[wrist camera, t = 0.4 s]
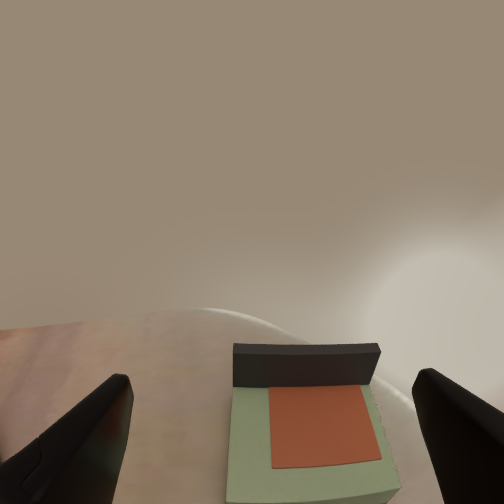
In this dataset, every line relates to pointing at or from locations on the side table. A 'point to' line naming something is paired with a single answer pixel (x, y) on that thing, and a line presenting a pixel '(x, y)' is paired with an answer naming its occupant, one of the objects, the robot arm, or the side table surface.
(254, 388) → the toy chair with cushion
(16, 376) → the side table surface
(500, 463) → the robot arm
